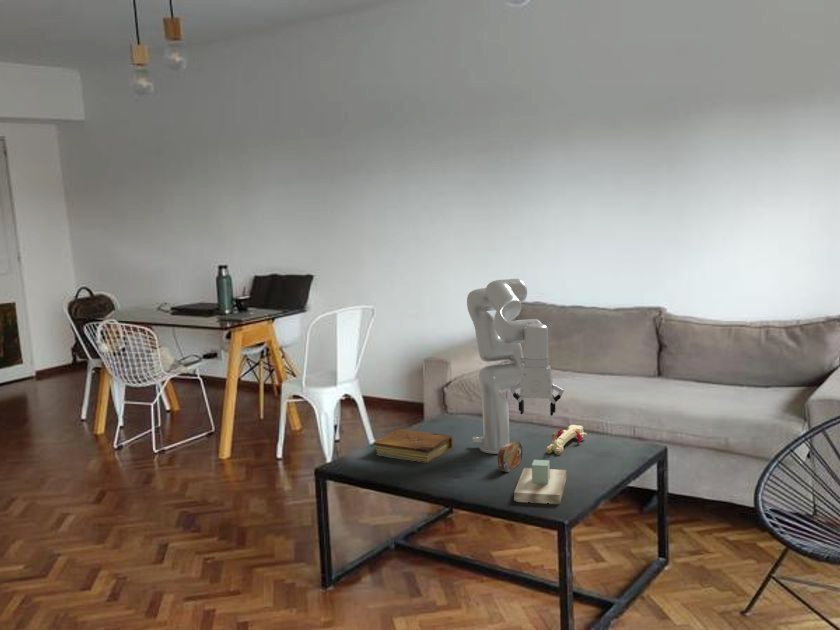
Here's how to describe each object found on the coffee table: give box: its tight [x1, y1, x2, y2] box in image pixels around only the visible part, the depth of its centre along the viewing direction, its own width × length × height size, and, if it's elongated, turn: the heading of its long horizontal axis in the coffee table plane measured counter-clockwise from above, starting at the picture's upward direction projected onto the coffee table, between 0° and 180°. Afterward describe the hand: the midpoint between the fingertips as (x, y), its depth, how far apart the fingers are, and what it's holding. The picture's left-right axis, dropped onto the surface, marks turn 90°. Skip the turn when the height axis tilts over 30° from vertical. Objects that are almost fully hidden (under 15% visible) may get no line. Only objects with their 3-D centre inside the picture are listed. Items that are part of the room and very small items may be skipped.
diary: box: [373, 428, 454, 464], centre depth 304 cm, size 23×19×6 cm
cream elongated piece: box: [545, 424, 588, 456], centre depth 303 cm, size 10×9×25 cm
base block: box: [513, 467, 567, 505], centre depth 261 cm, size 14×22×3 cm, turn 165°
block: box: [531, 459, 551, 484], centre depth 260 cm, size 5×5×6 cm
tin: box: [497, 441, 523, 473], centre depth 282 cm, size 15×3×8 cm, turn 148°
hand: (537, 413), depth 264 cm, fingers open, 9 cm apart
